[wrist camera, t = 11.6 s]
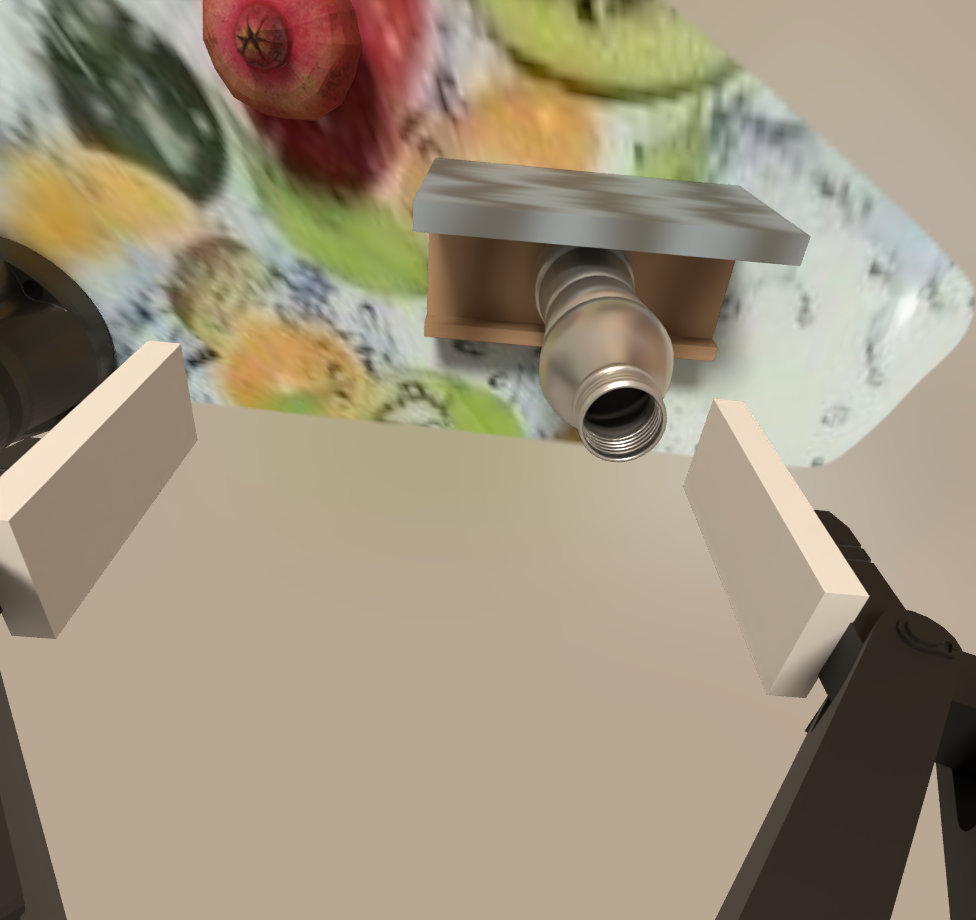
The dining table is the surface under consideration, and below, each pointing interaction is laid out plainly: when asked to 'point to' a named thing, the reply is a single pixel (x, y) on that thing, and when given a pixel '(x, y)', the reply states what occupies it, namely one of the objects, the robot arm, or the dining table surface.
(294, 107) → the fruit
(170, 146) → the dining table surface
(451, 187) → the brown wooden box
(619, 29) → the dining table surface
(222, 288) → the dining table surface
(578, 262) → the silver metal bottle
